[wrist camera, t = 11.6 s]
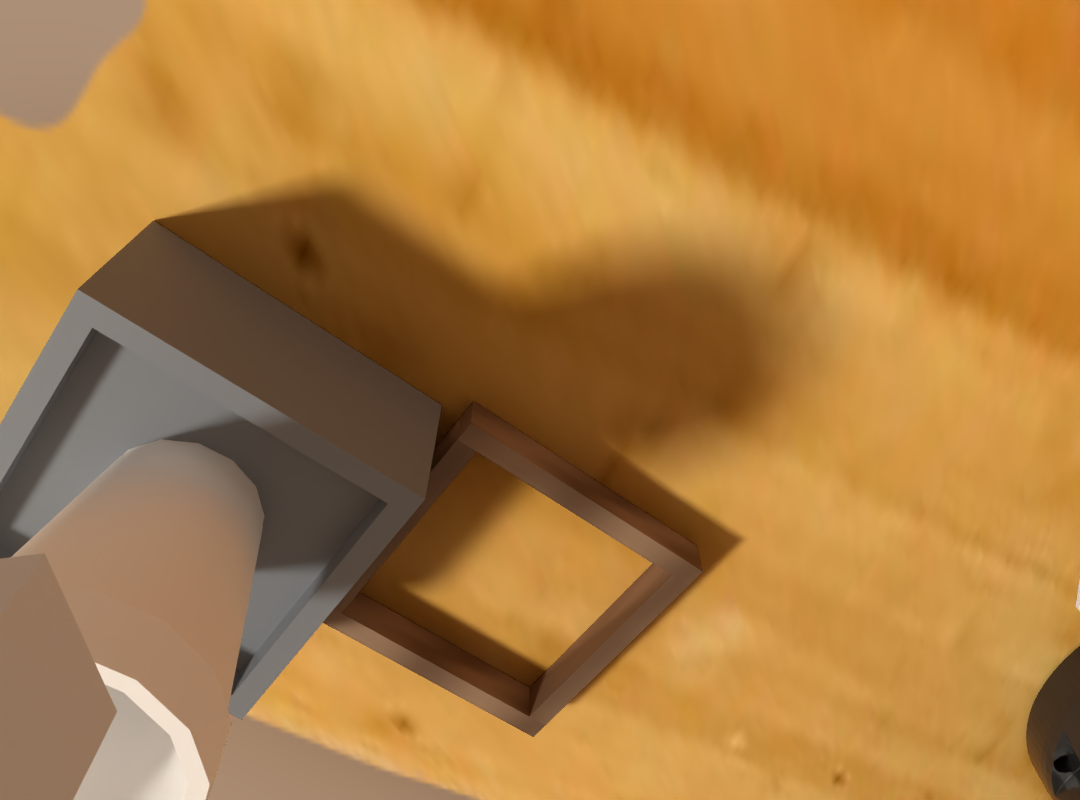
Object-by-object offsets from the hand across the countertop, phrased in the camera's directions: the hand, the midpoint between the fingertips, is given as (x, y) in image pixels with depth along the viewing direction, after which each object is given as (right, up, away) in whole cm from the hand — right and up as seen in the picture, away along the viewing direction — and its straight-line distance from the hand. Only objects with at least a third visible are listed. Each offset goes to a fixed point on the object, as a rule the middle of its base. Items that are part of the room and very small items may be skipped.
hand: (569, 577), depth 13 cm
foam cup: (-14, -2, +27) cm, 31 cm away
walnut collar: (-2, -6, +35) cm, 36 cm away
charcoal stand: (-14, +1, +32) cm, 35 cm away
